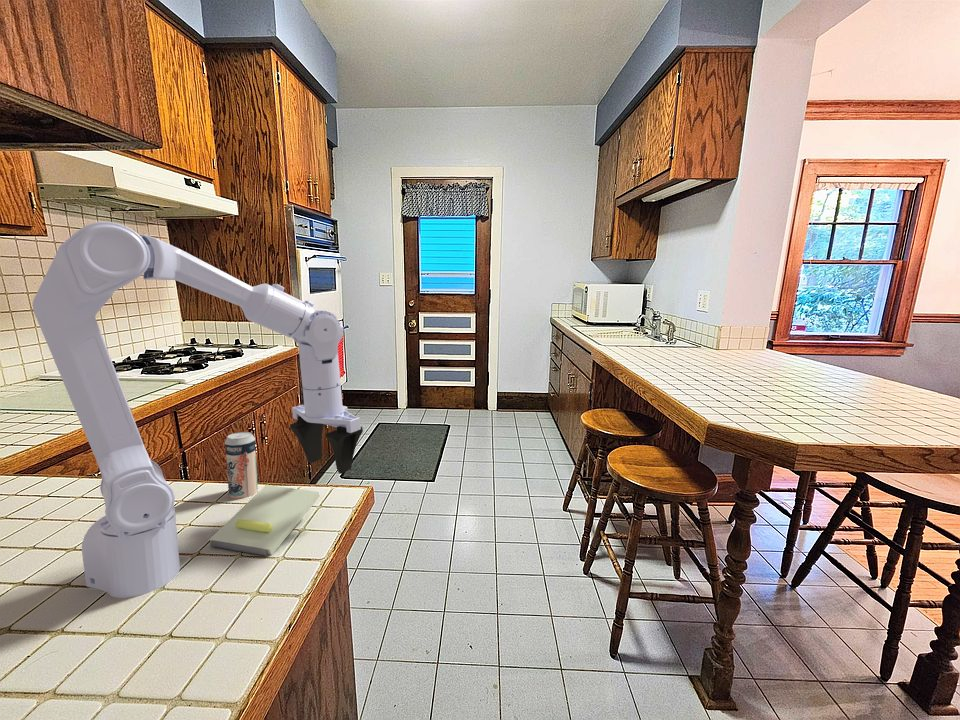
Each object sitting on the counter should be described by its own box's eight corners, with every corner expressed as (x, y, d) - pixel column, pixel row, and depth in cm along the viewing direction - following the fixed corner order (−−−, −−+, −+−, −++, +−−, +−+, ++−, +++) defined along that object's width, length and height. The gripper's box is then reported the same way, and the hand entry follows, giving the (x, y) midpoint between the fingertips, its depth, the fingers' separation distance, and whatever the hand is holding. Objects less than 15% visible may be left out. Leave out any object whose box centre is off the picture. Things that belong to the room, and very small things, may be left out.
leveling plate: (208, 547, 60) (204, 535, 59) (267, 489, 71) (264, 479, 70) (269, 557, 58) (265, 546, 57) (319, 496, 69) (317, 486, 68)
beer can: (222, 501, 75) (217, 437, 74) (245, 490, 80) (242, 429, 78) (241, 506, 74) (237, 441, 72) (264, 495, 78) (261, 433, 76)
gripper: (372, 385, 66) (378, 466, 68) (314, 376, 74) (322, 448, 76) (335, 396, 60) (343, 483, 63) (277, 384, 68) (286, 463, 70)
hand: (329, 465), depth 69 cm, fingers open, 7 cm apart
